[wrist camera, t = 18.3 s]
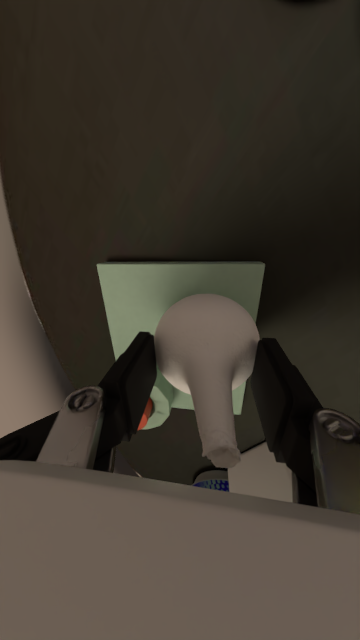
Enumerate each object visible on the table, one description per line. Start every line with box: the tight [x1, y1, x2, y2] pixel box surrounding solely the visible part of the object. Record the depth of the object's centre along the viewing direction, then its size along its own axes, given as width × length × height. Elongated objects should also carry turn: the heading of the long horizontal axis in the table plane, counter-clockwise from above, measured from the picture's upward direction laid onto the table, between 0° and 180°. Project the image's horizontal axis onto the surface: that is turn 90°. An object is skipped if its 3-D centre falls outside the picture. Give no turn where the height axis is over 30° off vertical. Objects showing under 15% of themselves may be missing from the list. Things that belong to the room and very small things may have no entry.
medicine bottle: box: [228, 442, 292, 503], centre depth 15 cm, size 7×7×12 cm
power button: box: [138, 397, 153, 430], centre depth 15 cm, size 3×3×2 cm
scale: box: [97, 262, 265, 429], centre depth 15 cm, size 14×12×3 cm
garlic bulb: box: [154, 294, 260, 468], centre depth 9 cm, size 6×6×8 cm
